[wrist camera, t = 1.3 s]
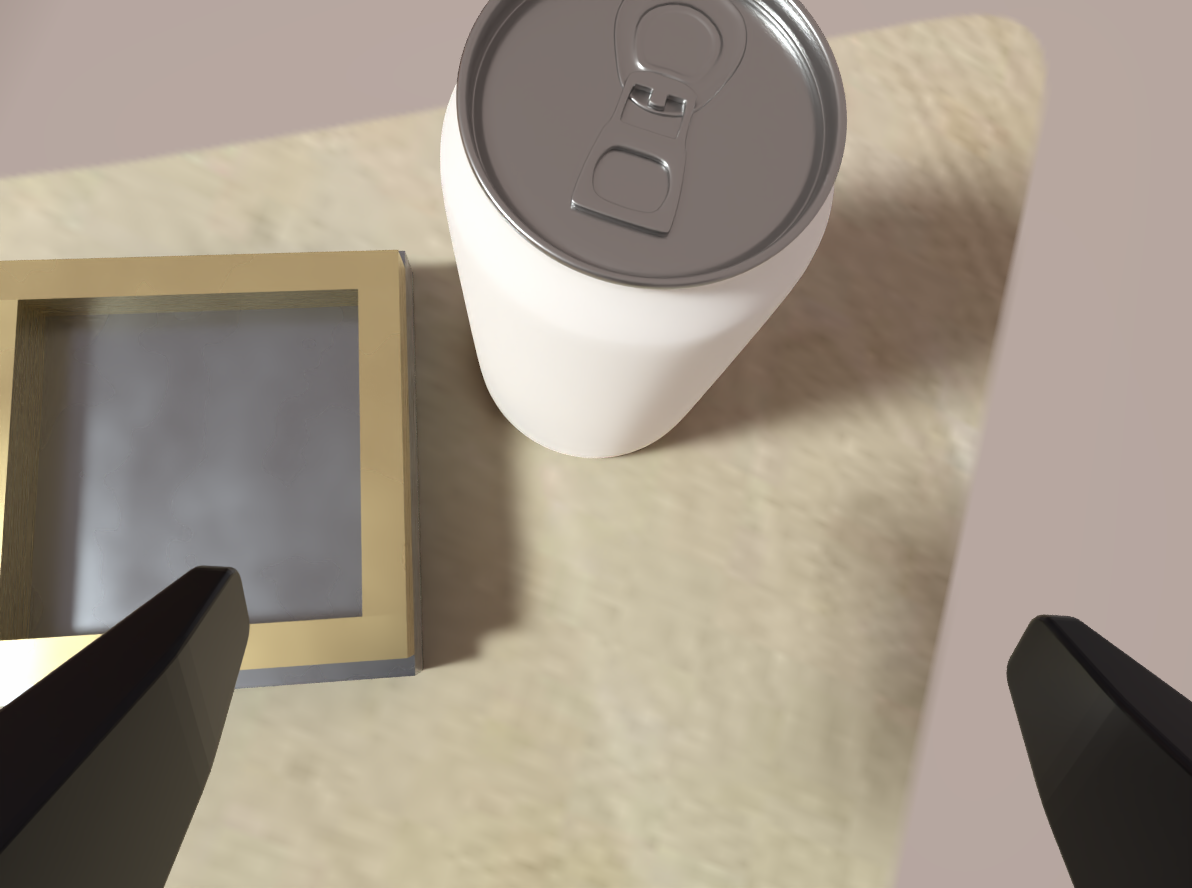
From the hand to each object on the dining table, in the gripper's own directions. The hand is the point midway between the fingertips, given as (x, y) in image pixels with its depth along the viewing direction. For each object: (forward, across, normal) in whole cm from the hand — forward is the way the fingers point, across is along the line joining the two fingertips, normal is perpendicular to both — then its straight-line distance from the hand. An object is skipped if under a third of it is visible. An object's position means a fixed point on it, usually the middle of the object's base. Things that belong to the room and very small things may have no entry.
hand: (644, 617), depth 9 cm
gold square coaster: (+11, +10, +7) cm, 16 cm away
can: (+14, 0, +4) cm, 15 cm away
